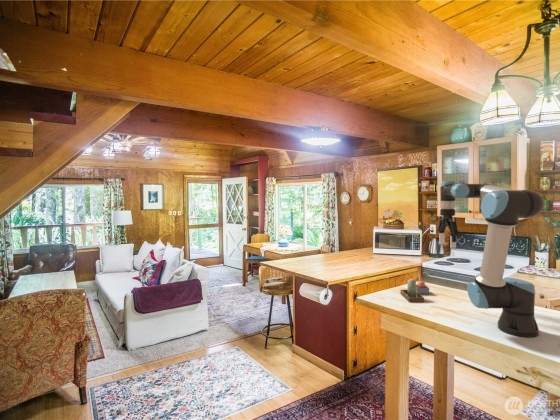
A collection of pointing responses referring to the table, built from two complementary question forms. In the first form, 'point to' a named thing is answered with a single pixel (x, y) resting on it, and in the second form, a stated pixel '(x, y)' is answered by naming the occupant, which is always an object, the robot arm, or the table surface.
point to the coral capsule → (421, 284)
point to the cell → (412, 288)
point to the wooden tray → (412, 299)
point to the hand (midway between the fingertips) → (447, 246)
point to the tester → (422, 290)
